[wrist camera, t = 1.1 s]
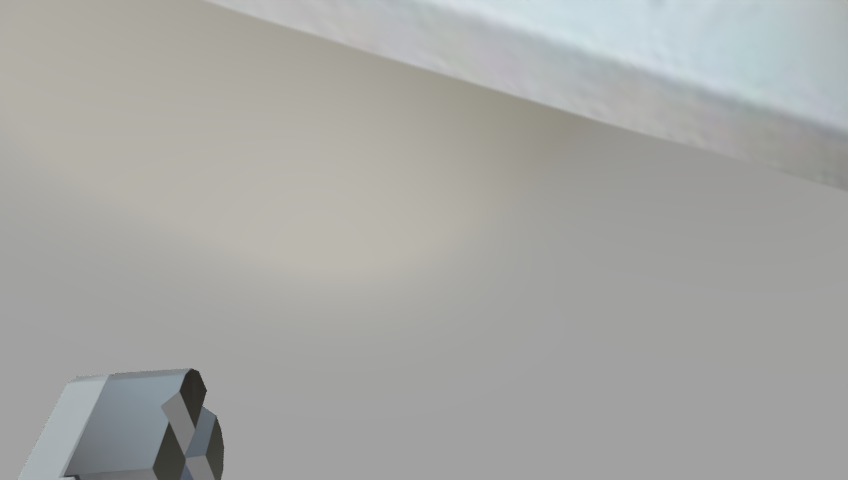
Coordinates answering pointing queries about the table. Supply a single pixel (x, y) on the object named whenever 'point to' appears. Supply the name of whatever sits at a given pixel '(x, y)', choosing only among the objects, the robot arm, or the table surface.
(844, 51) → the table surface
